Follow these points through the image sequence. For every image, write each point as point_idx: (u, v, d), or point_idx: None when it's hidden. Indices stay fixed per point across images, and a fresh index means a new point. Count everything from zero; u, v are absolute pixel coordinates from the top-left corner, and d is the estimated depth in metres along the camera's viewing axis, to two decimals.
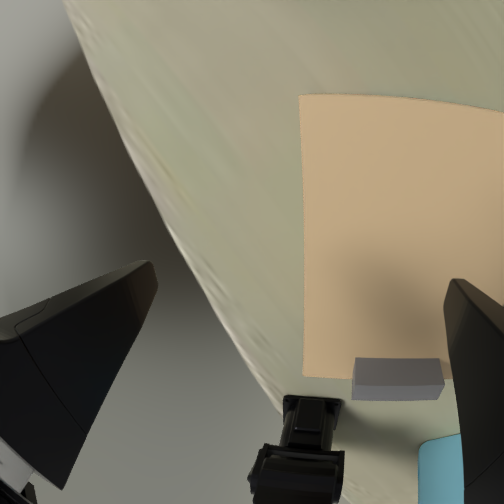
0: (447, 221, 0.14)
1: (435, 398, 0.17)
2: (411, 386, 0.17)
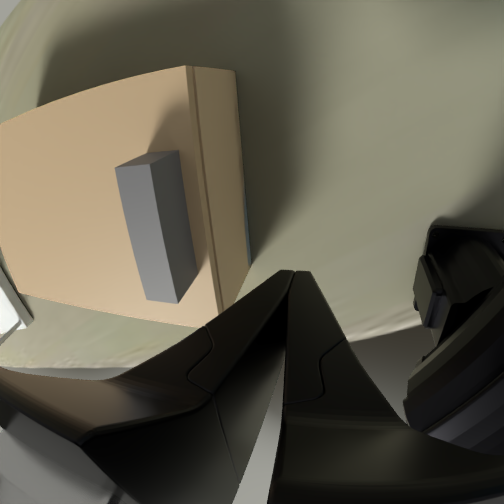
0: (27, 202, 0.16)
1: (147, 169, 0.11)
2: (127, 224, 0.12)
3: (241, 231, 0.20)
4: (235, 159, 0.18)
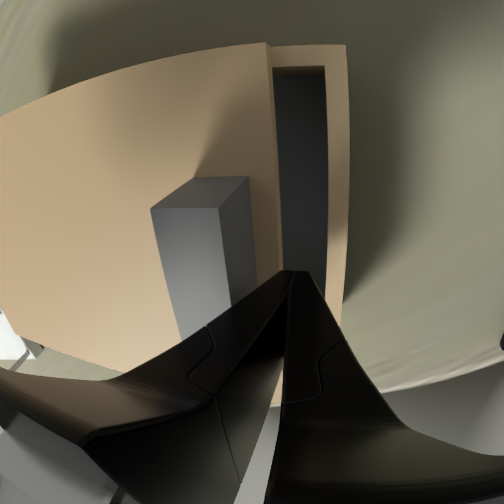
0: (16, 234, 0.12)
1: (213, 216, 0.07)
2: (170, 298, 0.08)
3: None
4: None
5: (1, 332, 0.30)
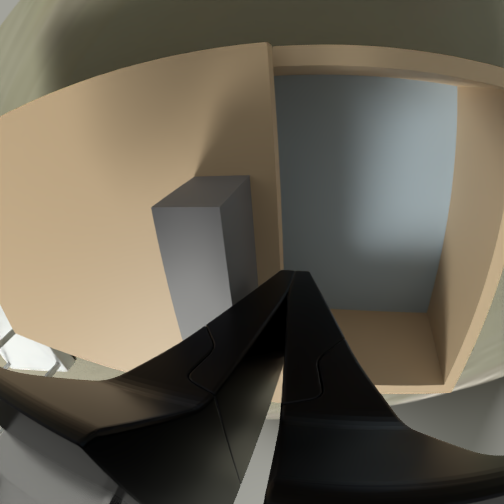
0: (16, 233, 0.12)
1: (214, 215, 0.07)
2: (171, 296, 0.08)
3: None
4: None
5: (25, 342, 0.28)
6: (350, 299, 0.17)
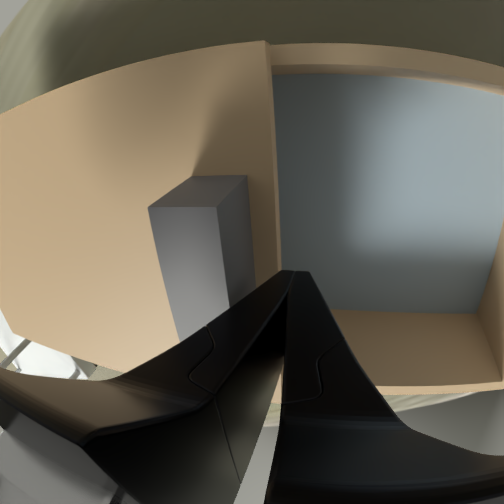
0: (14, 232, 0.12)
1: (211, 215, 0.06)
2: (168, 297, 0.08)
3: None
4: None
5: (40, 348, 0.27)
6: (409, 302, 0.16)
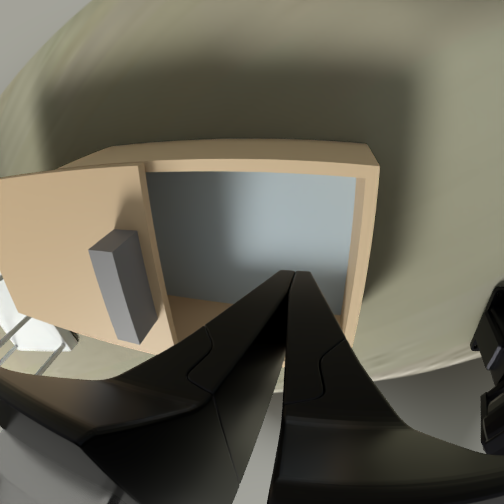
0: (24, 247, 0.20)
1: (110, 255, 0.15)
2: (100, 289, 0.16)
3: None
4: None
5: (35, 326, 0.35)
6: None
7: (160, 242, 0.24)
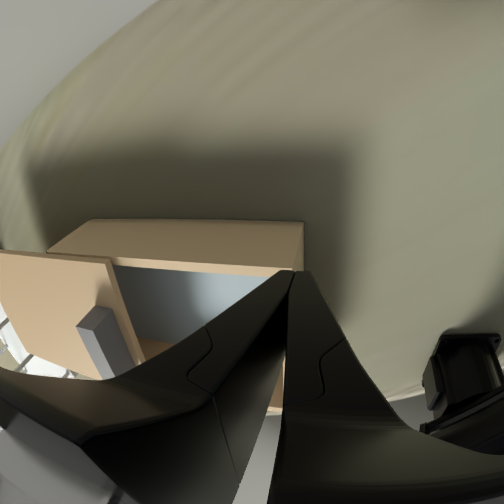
0: (27, 306, 0.24)
1: (92, 332, 0.18)
2: (88, 352, 0.20)
3: None
4: None
5: None
6: None
7: (139, 299, 0.28)
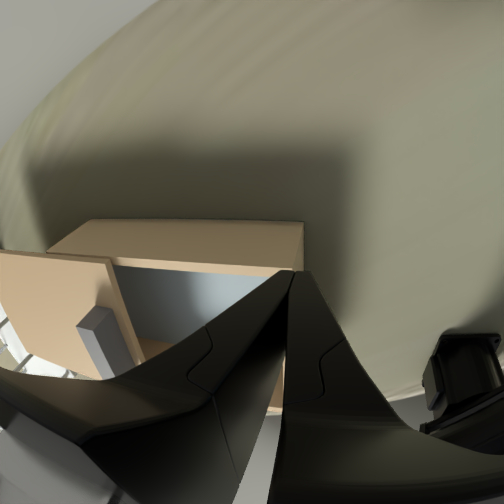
0: (27, 306, 0.24)
1: (92, 332, 0.18)
2: (88, 352, 0.20)
3: None
4: None
5: None
6: None
7: (139, 299, 0.28)
